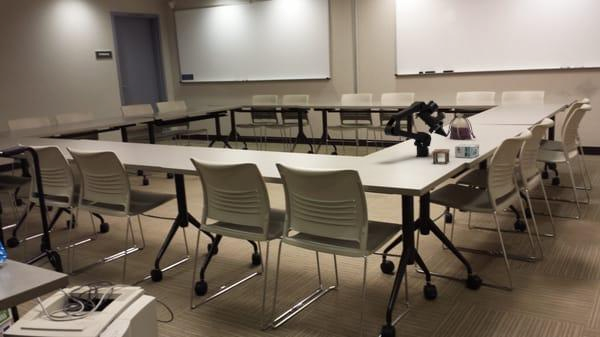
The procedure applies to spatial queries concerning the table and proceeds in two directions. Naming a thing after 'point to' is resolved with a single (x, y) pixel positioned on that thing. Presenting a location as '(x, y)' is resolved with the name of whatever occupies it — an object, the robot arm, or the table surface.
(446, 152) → the walnut stool
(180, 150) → the table surface
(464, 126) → the pouch
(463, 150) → the light bulb box
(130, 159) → the table surface
